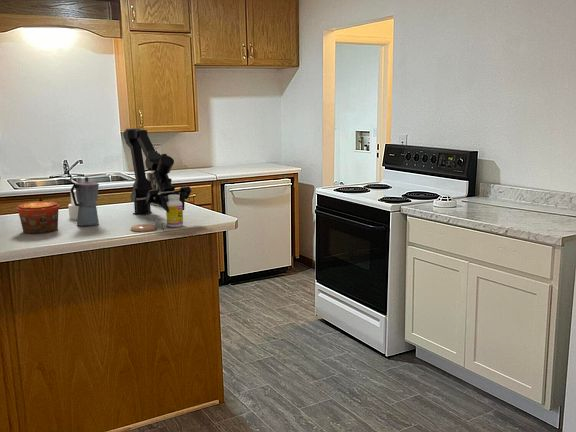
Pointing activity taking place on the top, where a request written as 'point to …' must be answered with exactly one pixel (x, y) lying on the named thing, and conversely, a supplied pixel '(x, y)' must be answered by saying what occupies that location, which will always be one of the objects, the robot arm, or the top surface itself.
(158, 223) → the low wall
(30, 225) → the food container
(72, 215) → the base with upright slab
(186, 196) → the robot arm
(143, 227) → the coaster
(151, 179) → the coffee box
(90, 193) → the moka pot
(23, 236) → the top surface
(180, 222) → the supplement bottle
